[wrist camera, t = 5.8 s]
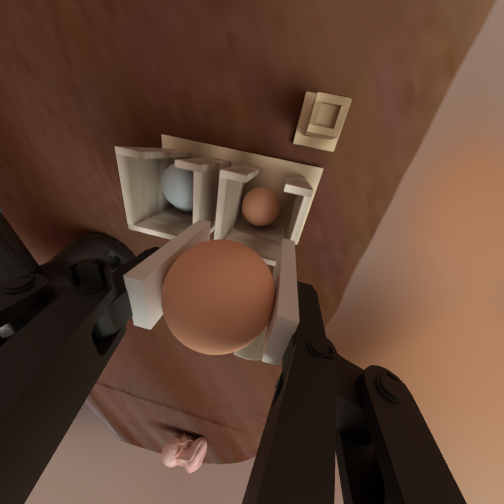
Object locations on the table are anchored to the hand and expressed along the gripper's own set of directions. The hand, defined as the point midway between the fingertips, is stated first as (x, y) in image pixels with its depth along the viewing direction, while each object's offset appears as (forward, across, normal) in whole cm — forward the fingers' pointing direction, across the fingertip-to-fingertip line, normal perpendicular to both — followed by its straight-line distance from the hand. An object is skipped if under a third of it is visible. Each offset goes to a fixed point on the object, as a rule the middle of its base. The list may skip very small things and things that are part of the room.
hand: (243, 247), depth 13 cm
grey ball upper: (+11, -10, 0) cm, 15 cm away
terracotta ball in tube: (+16, 0, -1) cm, 16 cm away
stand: (+16, +4, +10) cm, 20 cm away
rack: (+16, -5, 0) cm, 17 cm away
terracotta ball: (-2, 0, 0) cm, 2 cm away
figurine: (+17, -12, -108) cm, 110 cm away
